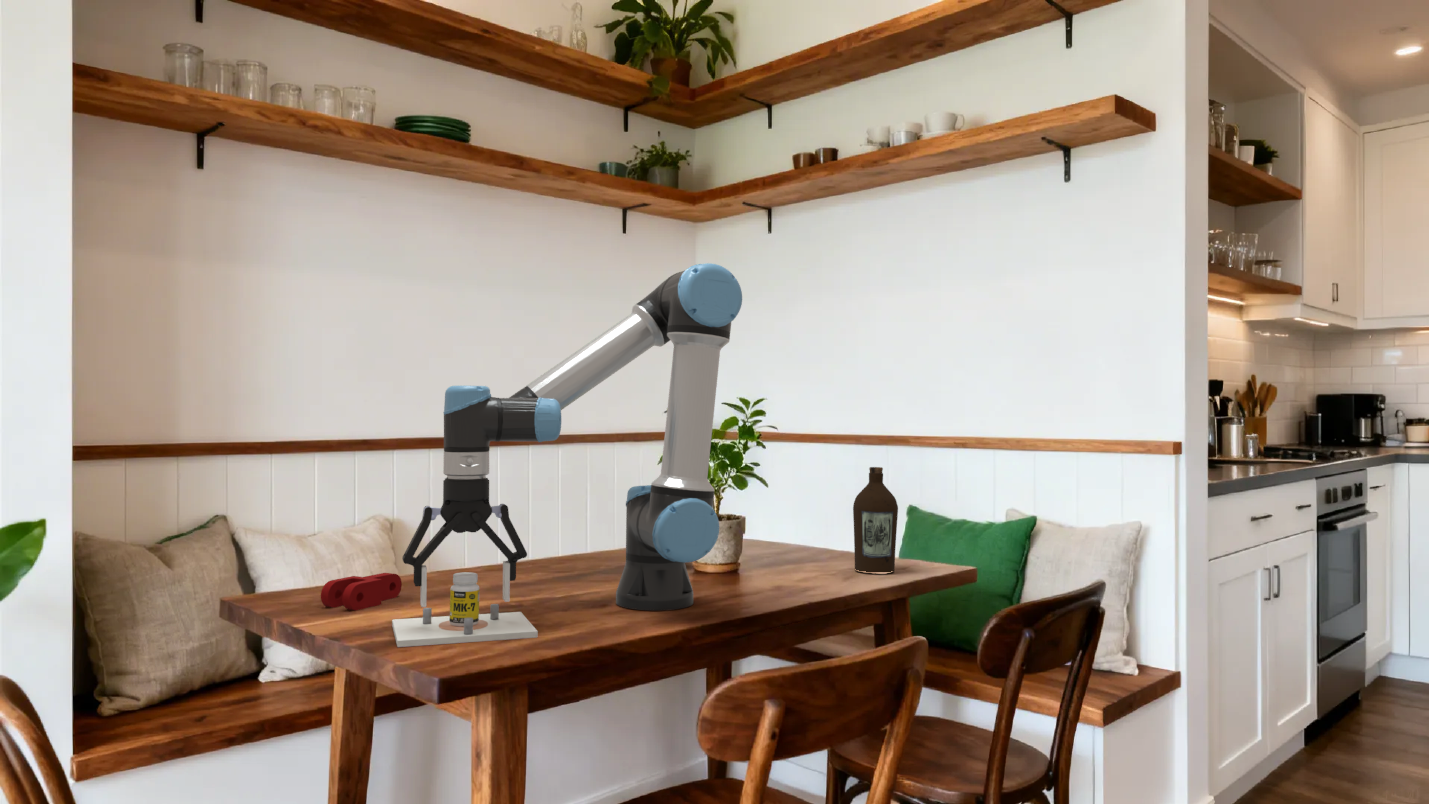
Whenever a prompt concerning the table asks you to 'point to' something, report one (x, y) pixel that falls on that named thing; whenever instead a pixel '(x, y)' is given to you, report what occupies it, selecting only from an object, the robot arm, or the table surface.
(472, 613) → the supplement bottle
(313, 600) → the table surface
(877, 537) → the olive oil
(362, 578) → the mechanical linkage
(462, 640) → the pin plate
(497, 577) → the table surface
